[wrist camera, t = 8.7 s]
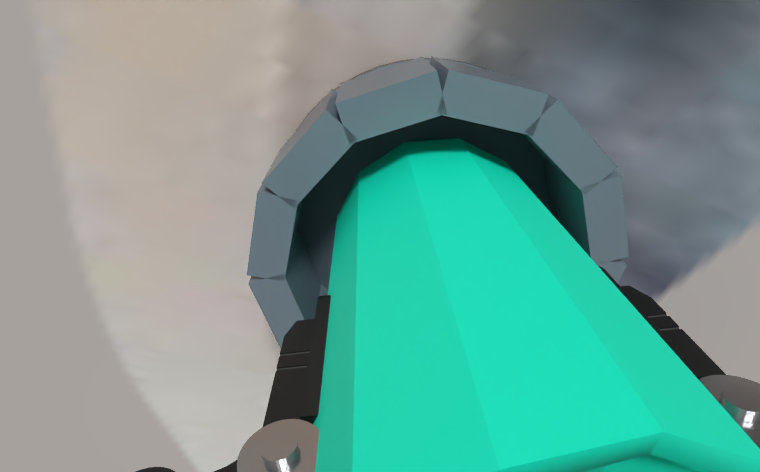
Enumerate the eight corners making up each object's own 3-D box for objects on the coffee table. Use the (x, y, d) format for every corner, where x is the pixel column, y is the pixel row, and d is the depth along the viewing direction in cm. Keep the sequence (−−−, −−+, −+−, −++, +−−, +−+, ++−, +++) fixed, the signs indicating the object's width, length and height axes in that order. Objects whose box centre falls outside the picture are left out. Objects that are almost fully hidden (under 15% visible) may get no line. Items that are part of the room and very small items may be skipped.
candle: (305, 175, 14) (114, 759, 3) (507, 106, 13) (1118, 556, 3) (373, 334, 17) (393, 954, 6) (545, 282, 16) (934, 878, 5)
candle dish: (544, 12, 14) (607, 15, 10) (583, 290, 18) (638, 361, 15) (225, 116, 15) (182, 152, 11) (333, 358, 19) (326, 440, 16)
